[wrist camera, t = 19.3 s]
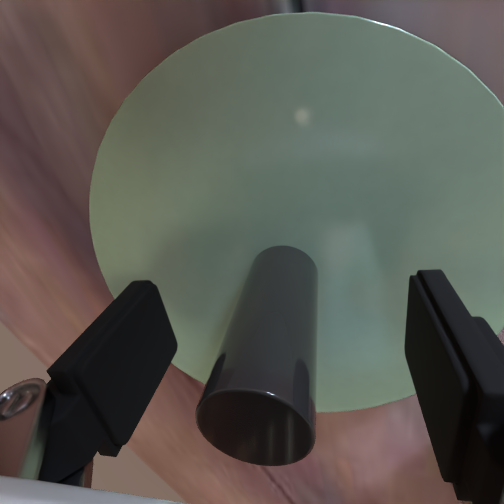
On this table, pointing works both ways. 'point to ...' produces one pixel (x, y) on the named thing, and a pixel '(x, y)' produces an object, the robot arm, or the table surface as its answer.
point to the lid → (300, 214)
